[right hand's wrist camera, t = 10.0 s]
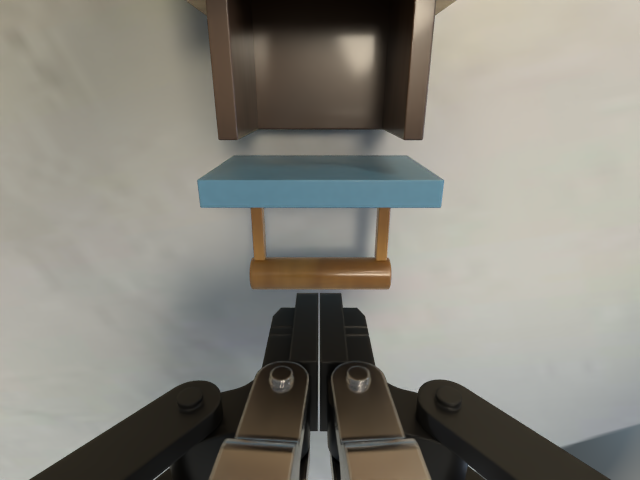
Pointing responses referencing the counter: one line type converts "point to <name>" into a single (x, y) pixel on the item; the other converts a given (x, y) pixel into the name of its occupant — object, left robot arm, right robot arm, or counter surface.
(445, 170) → the counter surface
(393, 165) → the drawer
